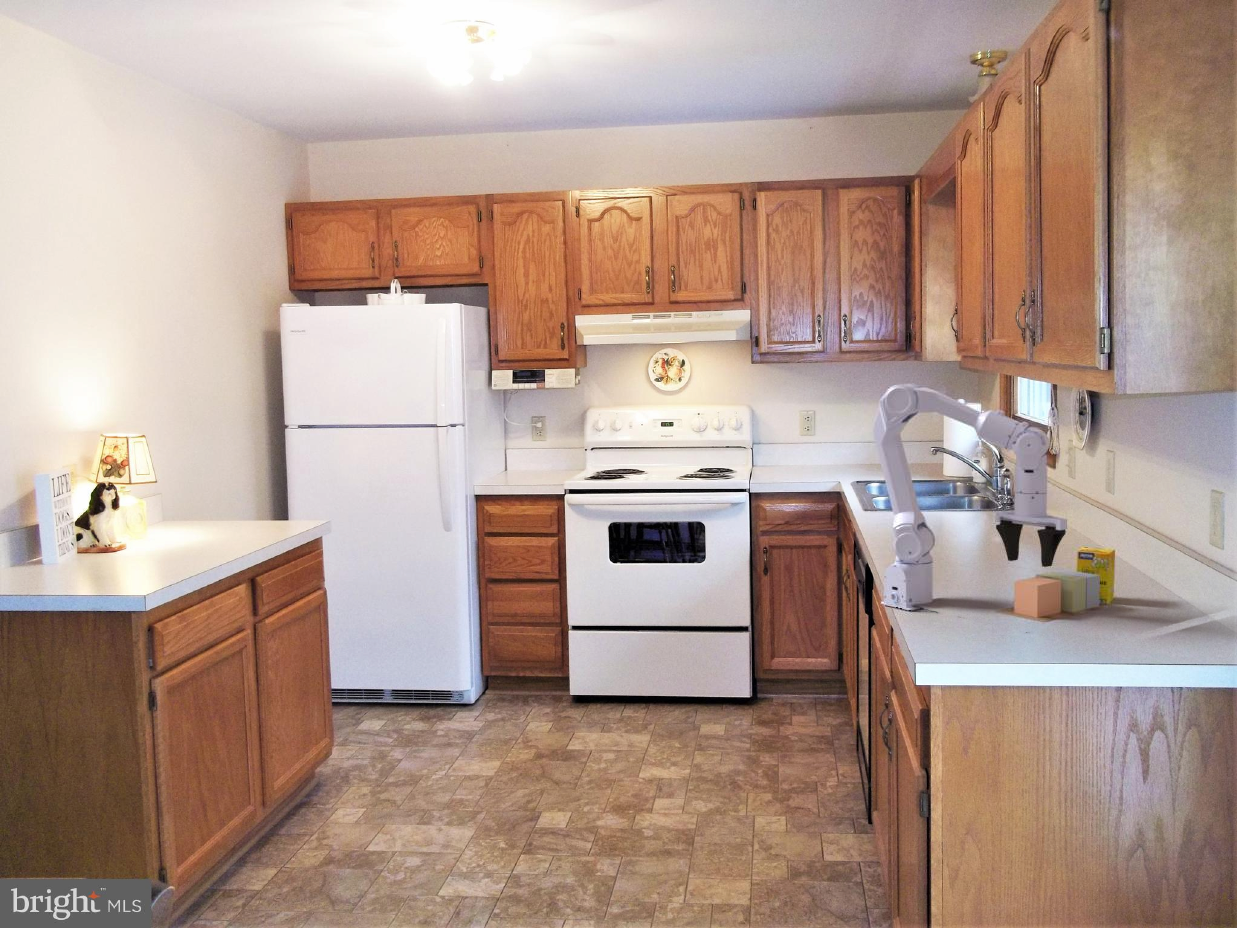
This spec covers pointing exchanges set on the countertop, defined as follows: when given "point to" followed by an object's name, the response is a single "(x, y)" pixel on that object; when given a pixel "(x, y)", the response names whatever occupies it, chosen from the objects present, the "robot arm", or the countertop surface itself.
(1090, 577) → the slate book
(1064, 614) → the walnut board
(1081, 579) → the olive book
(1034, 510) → the robot arm
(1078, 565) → the supplement box
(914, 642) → the countertop surface
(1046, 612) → the terracotta block
